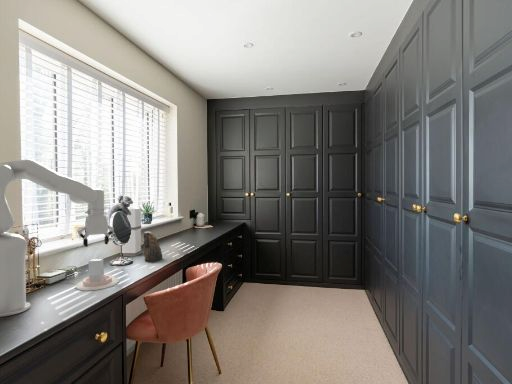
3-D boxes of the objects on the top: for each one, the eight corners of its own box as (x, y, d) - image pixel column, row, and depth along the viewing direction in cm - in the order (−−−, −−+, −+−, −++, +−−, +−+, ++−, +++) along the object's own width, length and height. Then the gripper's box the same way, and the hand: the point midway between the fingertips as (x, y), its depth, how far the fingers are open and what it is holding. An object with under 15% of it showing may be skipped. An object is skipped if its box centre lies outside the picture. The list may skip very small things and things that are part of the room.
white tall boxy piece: (141, 252, 232) (141, 207, 232) (135, 256, 221) (135, 208, 221) (127, 252, 232) (126, 207, 232) (120, 256, 222) (119, 208, 221)
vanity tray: (81, 293, 142) (81, 287, 142) (71, 284, 157) (71, 278, 157) (124, 284, 156) (124, 278, 156) (111, 276, 171) (111, 270, 171)
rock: (149, 263, 200) (149, 233, 200) (136, 261, 206) (136, 232, 206) (163, 259, 212) (163, 230, 211) (150, 257, 217) (150, 229, 217)
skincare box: (104, 281, 159) (104, 258, 159) (101, 284, 154) (100, 260, 154) (92, 281, 158) (92, 258, 158) (88, 284, 154) (88, 260, 153)
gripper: (79, 213, 148) (79, 248, 148) (116, 212, 159) (116, 244, 160) (75, 213, 153) (75, 246, 153) (111, 211, 165) (111, 242, 165)
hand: (96, 245), depth 156 cm, fingers open, 9 cm apart
